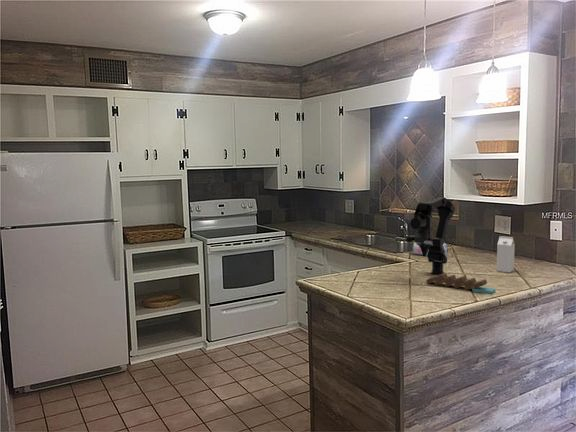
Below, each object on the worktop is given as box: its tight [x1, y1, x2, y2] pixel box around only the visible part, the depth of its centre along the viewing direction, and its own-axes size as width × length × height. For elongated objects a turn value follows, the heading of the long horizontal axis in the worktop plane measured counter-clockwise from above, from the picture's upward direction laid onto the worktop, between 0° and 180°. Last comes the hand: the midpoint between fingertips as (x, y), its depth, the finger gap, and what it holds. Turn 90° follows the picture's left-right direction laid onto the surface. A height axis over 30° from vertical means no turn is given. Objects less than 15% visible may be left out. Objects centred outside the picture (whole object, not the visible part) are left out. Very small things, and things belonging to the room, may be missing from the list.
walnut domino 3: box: [444, 275, 468, 287], centre depth 235 cm, size 2×5×9 cm
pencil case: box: [412, 241, 449, 257], centre depth 307 cm, size 21×9×10 cm, turn 52°
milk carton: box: [496, 235, 516, 273], centre depth 264 cm, size 7×7×19 cm
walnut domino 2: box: [434, 274, 457, 286], centre depth 238 cm, size 2×5×9 cm
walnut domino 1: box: [425, 272, 449, 285], centre depth 241 cm, size 2×5×9 cm
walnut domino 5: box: [463, 278, 488, 291], centre depth 228 cm, size 2×5×9 cm
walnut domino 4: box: [453, 277, 477, 289], centre depth 232 cm, size 2×5×9 cm
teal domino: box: [471, 286, 496, 295], centre depth 227 cm, size 2×5×9 cm
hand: (424, 256), depth 250 cm, fingers closed
